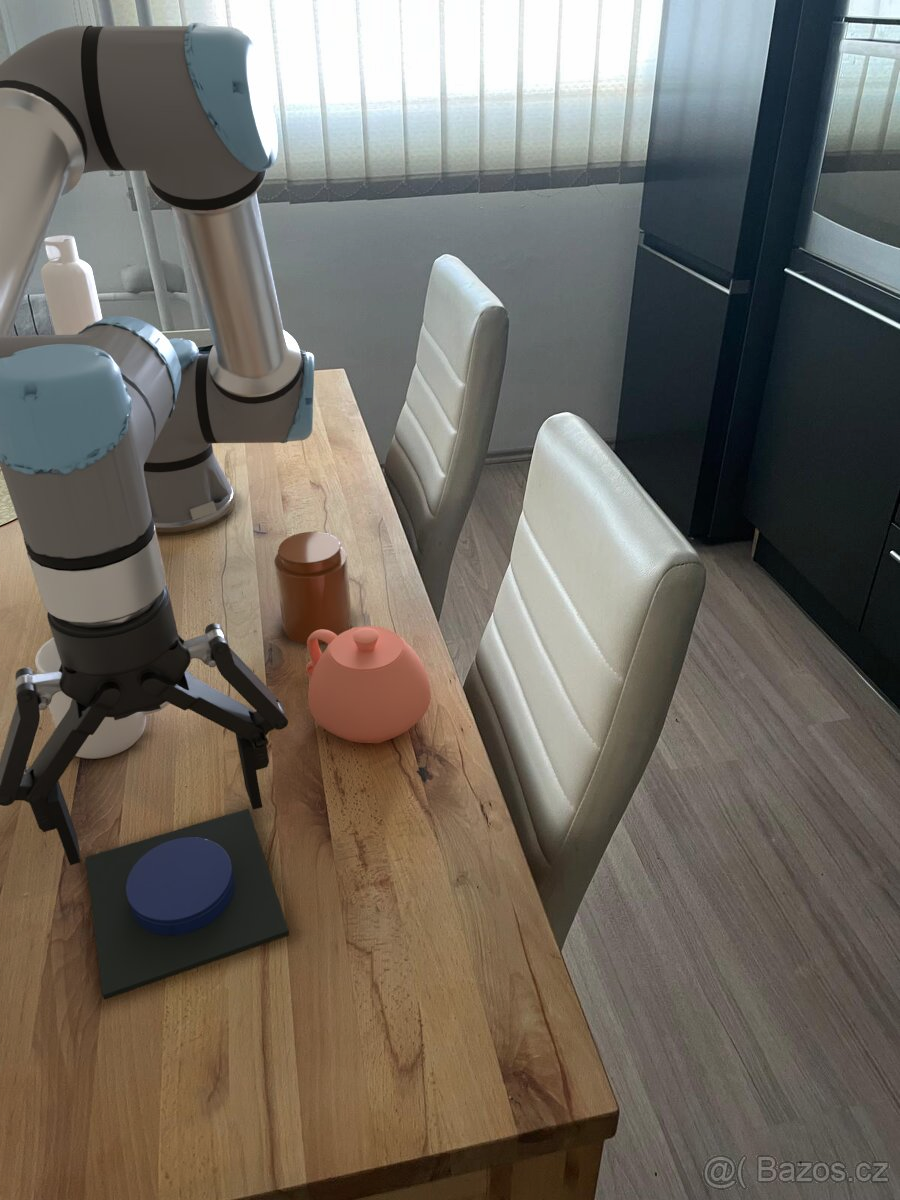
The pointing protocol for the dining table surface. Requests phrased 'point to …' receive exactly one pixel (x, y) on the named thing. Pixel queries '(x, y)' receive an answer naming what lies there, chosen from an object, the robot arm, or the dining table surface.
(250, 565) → the dining table surface
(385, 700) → the sugar bowl
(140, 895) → the lid
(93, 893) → the mat
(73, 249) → the bottle
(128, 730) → the mug
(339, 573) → the jar
